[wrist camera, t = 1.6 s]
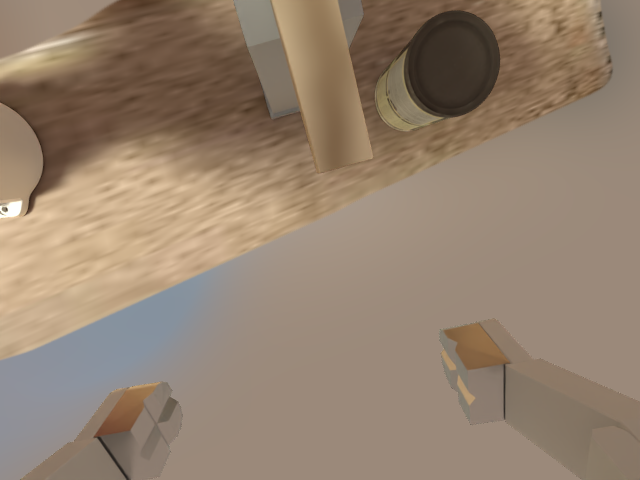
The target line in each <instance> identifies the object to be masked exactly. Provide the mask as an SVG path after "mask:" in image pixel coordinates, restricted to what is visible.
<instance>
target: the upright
mask: <svg viewBox="0 0 640 480" xmlns="http://www.w3.org/2000/svg"><path fill="white" fill-rule="evenodd" d="M233 1H234V5H235V8H236V12H237V15H238V18H239V22H240V25H241V28H242V32H243V35H244V38H245V42H246V45H247V48H248V51H249V53H250V56H251V58H252V61H253V63H254V66H255V68H256V71H257V74H258V76H259V79H260V83H261V86H262V89H263V93H264V96H265V100H266V103H267V106H268V110H269V113H270V116H271V119H276V118H279V117H283V116H286V115H290V114H293V113H297V112H300V109H299V105H298V101H297V98H296V94H295V90H294V87H293V83H292V79H291V76H290V72H289V68H288V65H287V61H286V57H285V54H284V50H283V47H282V43H281V39H280V36H279V32H278V28H277V25H276V21H275V17H274V14H273V10H272V6H271V3H270V0H233ZM338 4H339V9H340V13H341V18H342V22H343V26H344V31H345V35H346V39H347V44H348V48H349V47H350V45H351V43H352V41H353V38H354V36H355V34H356V32H357V29H358V27H359V25H360V23H361V20H362V18H363V16H364V12H363V7H362V2H361V0H338Z"/></svg>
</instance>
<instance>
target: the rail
mask: <svg viewBox="0 0 640 480" xmlns="http://www.w3.org/2000/svg"><path fill="white" fill-rule="evenodd" d="M270 3H271V6H272V10H273V14H274V17H275V21H276V25H277V28H278V32H279V36H280V39H281V43H282V47H283V50H284V54H285V57H286V61H287V65H288V68H289V72H290V76H291V79H292V83H293V87H294V90H295V94H296V98H297V101H298V105H299V109H300V112H301V116H302V120H303V123H304V127H305V131H306V134H307V138H308V142H309V145H310V149H311V152H312V156H313V160H314V163H315V167H316V171H317V173H324V172H327V171H331V170H334V169H338V168H341V167H345V166H348V165H352V164H355V163H359V162H362V161H366V160H369V159H373V154H372V149H371V145H370V140H369V136H368V132H367V127H366V123H365V118H364V114H363V110H362V105H361V101H360V97H359V92H358V88H357V83H356V79H355V75H354V70H353V66H352V61H351V57H350V53H349V48H348V44H347V39H346V35H345V31H344V26H343V22H342V18H341V13H340V9H339V4H338V0H270Z"/></svg>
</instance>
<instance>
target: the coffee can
mask: <svg viewBox="0 0 640 480" xmlns="http://www.w3.org/2000/svg"><path fill="white" fill-rule="evenodd" d="M499 67H500V54H499V48H498V44H497V41H496V38H495V36H494V34H493V32H492V30H491V29H490V27H489V26H488V25H487V24H486V23H485V22H484V21H483V20H482V19H480V18H479V17H477V16H476V15H474V14H471V13H469V12H465V11H448V12H444V13H441V14H438V15H436V16H434V17H433V18H431V19H430V20H428V21H427V22H426V23H425V24H424V25H423V26H422V27H421V28H420V29H419V30H418V31H417V33H416V34H415V36H414V37H413V39H412V40H411V41H410V42H409V43H408V45H407V46H406V47H405V48H404V49H403V50H402V52H401V53H400V54H399V55H398V56H397V57H396V58H395V59H394V61H393V62H392V63H391V64H390V65H389V66H388V67H387V68H386V69H385V70H384V71H383V72H382V74H381V75H380V77H379V79H378V81H377V84H376V88H375V105H376V109H377V112H378V113H379V115H380V117H381V119H382V120H383V121H384V122H385V123H386V124H387V125H388V126H390V127H392V128H393V129H395V130H399V131H414V130H417V129H419V128H421V127H424V126H427V125H430V124H433V123H436V122H439V121H442V120H445V119H448V118H452V117H457V116H461V115H464V114H466V113H468V112H470V111H472V110H474V109H475V108H477V107H478V106H479V105H480V104H481V103H482V102H483V101H484V100H485V99H486V98H487V97H488V95H489V94H490V92H491V91H492V89H493V87H494V85H495V82H496V80H497V76H498V73H499Z"/></svg>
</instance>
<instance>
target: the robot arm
mask: <svg viewBox="0 0 640 480" xmlns="http://www.w3.org/2000/svg"><path fill="white" fill-rule="evenodd" d="M42 170H43V155H42V150H41V146H40V143H39V141H38V139H37V137H36V135H35V133H34V131H33V130H32V128H31V127H30V126H29V124H28V123H27V122H26V121H25V120H24V119H23V118H22V117H21V116H20V115H19V114H18V113H16V112H15V111H14V110H12V109H11V108H9V107H8V106H6V105H4V104H2V103H0V218H10V217H21V216H24V215H25V214H26V212H27V210H28V204H29V197H30V194H31V193H32V191H33V190H34V188H35V187H36V185H37V184H38V182H39V180H40V177H41V174H42ZM6 207H7V208H8V211H7V210H6ZM439 338H440V342H441V344H442V346H443V348H444V350H443V351H442V352H441V358H442V364H443V368H444V372H445V375H446V377H447V380H448V382H449V384H450V386H451V388H452V389H454V390H455V391H457V392H458V399H459V404H460V405H461V407H462V409H463V411H464V413H465V415H466V417H467V419H468V421H469V423H470V425H473V424H481V423H488V422H494V421H502V420H505V422H506V423H507V424H509V425H510V426H511V427H513V428H514V429H515V430H517V431H518V432H519V433H521V434H522V435H523V436H525V437H526V438H527V439H528V440H530V441H531V442H533V443H534V444H535V445H536V446H538V447H539V448H540V449H542V450H543V451H544V452H546V453H547V454H549V455H550V456H551V457H552V458H554V459H555V460H556V461H558V462H559V463H561V464H562V465H563V466H564V467H566V468H567V469H568V470H570V471H571V472H572V473H574V474H575V475H576V476H578V477H579V478H580V479H582V480H640V401H637V400H635V399H633V398H630V397H628V396H626V395H623V394H621V393H619V392H616V391H614V390H612V389H609V388H607V387H605V386H602V385H600V384H598V383H596V382H593V381H591V380H588V379H586V378H584V377H582V376H579V375H577V374H575V373H572V372H570V371H568V370H565V369H563V368H561V367H559V366H556V365H554V364H552V363H549V362H547V361H545V360H542V359H533V358H532V357H531V356H530V355H529V353H528V352H527V351H526V350H525V349H524V348H523V347H522V346H521V345H520V344H519V343H518V342H517V341H516V339H515V338H514V337H513V336H512V335H511V334H510V333H509V332H508V331H507V330H506V329H505V328H504V326H503V325H502V324H500V322H499V321H498V320H496V319H494V318H493V319H488V320H484V321H479V322H475V323H470V324H465V325H461V326H455V327H450V328H445V329H440V331H439ZM171 393H172V389H171V388H170V386H169V384H168V383H167V382H157V383H151V384H144V385H138V386H132V387H128V388H122V389H116V390H114V391H113V392H111V393H110V394H109V395H108V396H107V398H106V399H105V400H104V402H103V403H102V404H101V406H100V407H99V408H98V410H97V411H96V412H95V414H94V415H93V416H92V418H91V419H90V421H89V422H88V423H87V424H86V426H85V427H84V429H83V430H82V431H81V433H80V434H79V435H78V436H77V438H76V439H75V440H74V442H70V443H67V444H66V445H64V446H63V447H62V448H61V449H59V450H58V451H57V452H55V453H54V454H53V455H51V456H50V457H49V458H48V459H46V460H45V461H44V462H42V463H41V464H40V465H38V466H37V467H36V468H35V469H33V470H32V471H31V472H30V473H28V474H27V475H25V476H24V477H23V478H22V479H20V480H147V479H152V478H157V477H160V475H161V473H162V470H163V468H164V466H165V464H166V461H167V459H168V457H169V455H170V452H171V451H170V448H169V444H170V443H171V442H172V441H173V440H174V439H175V438H176V437H177V436H178V434H179V431H180V429H181V425H182V410H181V406H180V404H179V402H178V401H176V400H175V399H173V398H171V397H170V396H171Z"/></svg>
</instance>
